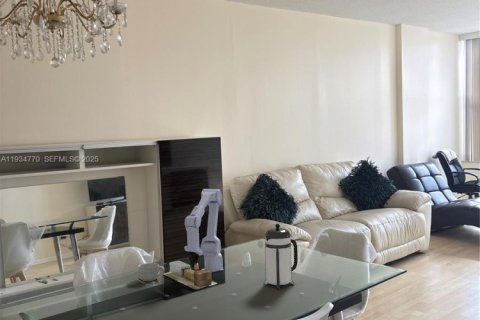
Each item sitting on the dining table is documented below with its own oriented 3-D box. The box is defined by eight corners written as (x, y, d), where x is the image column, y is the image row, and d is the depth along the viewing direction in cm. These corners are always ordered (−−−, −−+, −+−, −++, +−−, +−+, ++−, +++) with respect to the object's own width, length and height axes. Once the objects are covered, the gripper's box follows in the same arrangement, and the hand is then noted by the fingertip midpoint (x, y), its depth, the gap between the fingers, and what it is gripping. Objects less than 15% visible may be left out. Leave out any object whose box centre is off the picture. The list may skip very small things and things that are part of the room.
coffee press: (295, 290, 225) (293, 227, 223) (261, 289, 228) (259, 226, 226) (298, 278, 242) (297, 219, 240) (266, 277, 245) (265, 219, 243)
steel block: (179, 270, 259) (178, 260, 259) (190, 275, 250) (190, 265, 249) (169, 272, 256) (169, 262, 255) (181, 278, 246) (180, 267, 246)
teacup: (134, 281, 245) (133, 266, 244) (147, 275, 254) (147, 260, 254) (156, 285, 238) (155, 269, 238) (169, 278, 248) (168, 263, 247)
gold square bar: (184, 272, 252) (184, 257, 251) (204, 280, 237) (203, 264, 236) (179, 273, 250) (179, 258, 250) (199, 282, 235) (198, 266, 234)
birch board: (183, 269, 263) (183, 268, 263) (218, 284, 236) (217, 283, 236) (162, 274, 255) (162, 273, 255) (195, 290, 229) (195, 289, 229)
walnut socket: (206, 281, 239) (205, 269, 239) (211, 284, 235) (211, 271, 235) (194, 285, 235) (193, 271, 235) (199, 287, 231) (199, 274, 231)
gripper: (178, 238, 243) (179, 265, 244) (193, 243, 232) (194, 271, 233) (190, 236, 247) (191, 262, 248) (206, 241, 236) (207, 268, 237)
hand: (194, 266), depth 241 cm, fingers closed
